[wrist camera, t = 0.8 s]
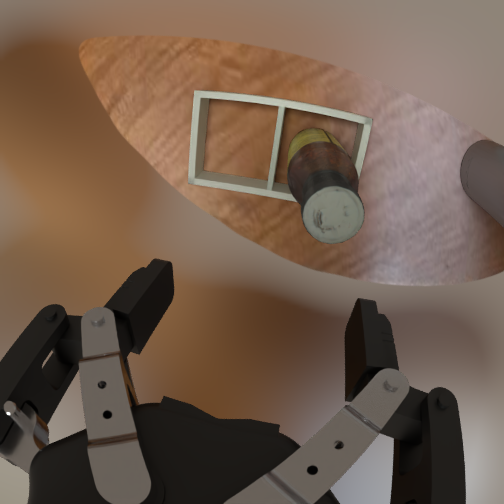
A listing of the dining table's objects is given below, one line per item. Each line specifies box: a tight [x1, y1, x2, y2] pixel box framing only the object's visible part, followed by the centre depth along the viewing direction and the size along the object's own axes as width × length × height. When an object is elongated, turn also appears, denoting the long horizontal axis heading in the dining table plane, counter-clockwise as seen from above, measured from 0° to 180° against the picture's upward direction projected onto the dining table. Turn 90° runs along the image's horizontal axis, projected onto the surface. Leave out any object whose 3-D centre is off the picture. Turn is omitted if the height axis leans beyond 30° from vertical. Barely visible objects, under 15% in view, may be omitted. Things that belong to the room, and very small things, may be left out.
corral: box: [188, 90, 373, 202], centre depth 34 cm, size 20×12×4 cm, turn 83°
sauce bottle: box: [287, 128, 364, 244], centre depth 26 cm, size 6×6×20 cm
